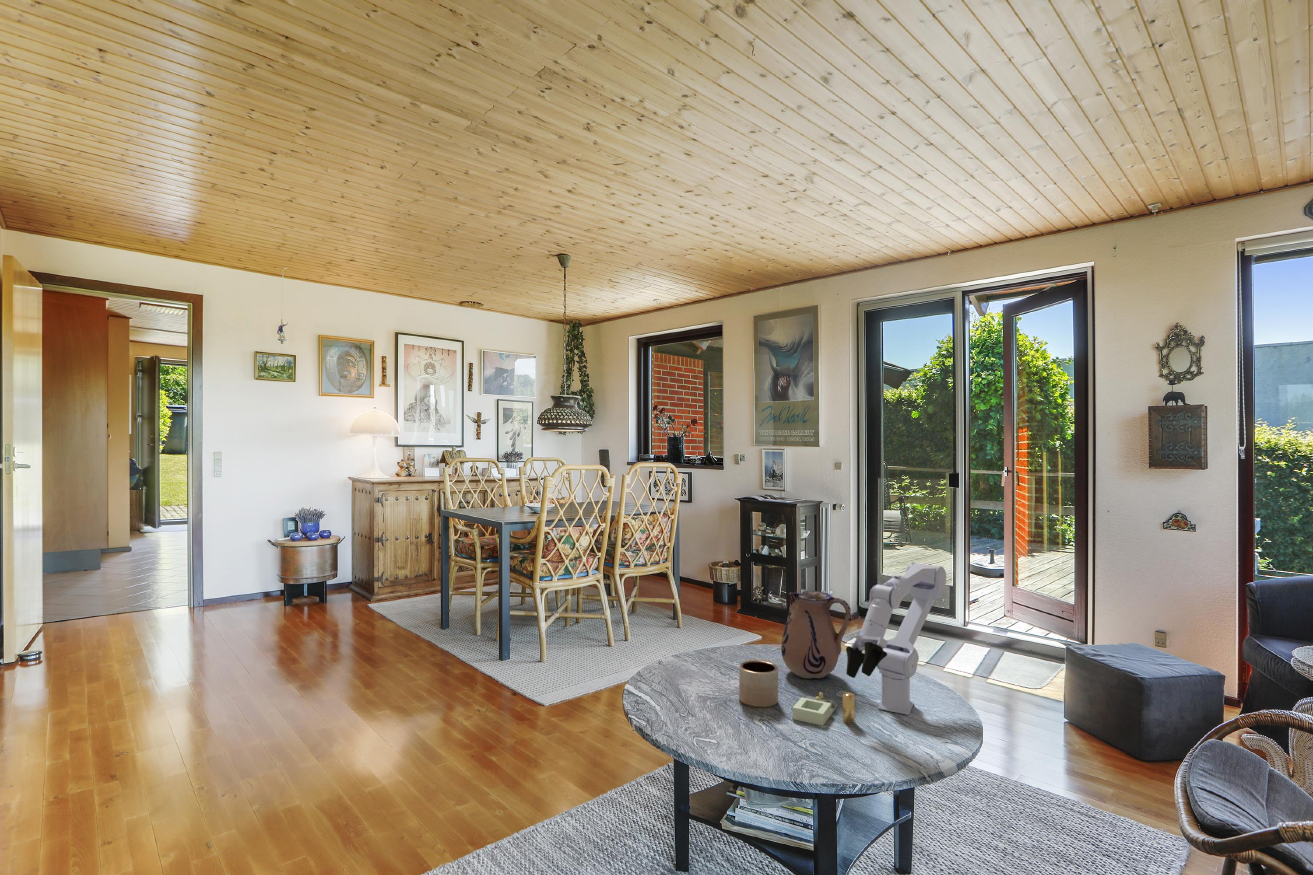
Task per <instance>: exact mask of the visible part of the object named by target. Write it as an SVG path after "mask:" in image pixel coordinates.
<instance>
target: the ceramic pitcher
mask: <svg viewBox="0 0 1313 875" xmlns="http://www.w3.org/2000/svg"><path fill="white" fill-rule="evenodd" d="M788 594H789V599H790V604H789V605H790V606H789V610H788V616H787V619H786V622H785V626H784V629H783V634H782V638H781V645H780V647H781V648H780V649H781V656H782V660H783V662H784V664H785V666H786V667H787V668H788V669H789V671H790V672H791V673H793V675H796V676H798V677H800V678H802V679H807V680H808V679H823V678H825V677H827V676H829V674H831V673H832V672H833V671H834V670H835V668H836V666H837V663H838V661H839V657H840V655H841V653H842V640H843V638H844V635H845V633H846V632H847V629H848V627H849V624H850V620H851V613H852V612H851V611H852V609H851V607H850V605H849V603H848V602H847V601H846V600H844V599H842V598H838V597H834V596H832V595H831V594H830V593H827V592H822V591H817V590H806V591H805V590H804V591H802V593H798V592H794V591H793V592H792V591H791V592H789V593H788ZM834 604H840V605H842V607H843V608H844V611H845V614H844V615H845V617H844V620H843V623H842V626H841V628H840V629H839V631H838V632H837V631H836V628H835V626H834V623H833V620H832V617H831V614H830V612H829V611H830V609H831V607H832V606H833V605H834Z"/></svg>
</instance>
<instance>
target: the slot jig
mask: <svg viewBox="0 0 1313 875" xmlns="http://www.w3.org/2000/svg"><path fill="white" fill-rule="evenodd" d="M837 706H838V704H837V702H836V701H835V700H834V699H833V700H832V699H825V698H824V693H823V692H821V691H820V692H819V693H818V696H811V695H807V696H806V697H800V698H799V700H798V701H797V702H796V703H795V704H794V705H793V707H792V720H795V721H800V722H804V723H805V722H806V723H810V724H813V725H818V726H822V727H823V726H824V725H825V724H826V722H827V721H829V718H830V717H831V716H832V714H833V713H834V711H835V710H836V709H837Z"/></svg>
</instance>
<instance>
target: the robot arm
mask: <svg viewBox="0 0 1313 875" xmlns="http://www.w3.org/2000/svg"><path fill="white" fill-rule="evenodd" d="M946 572H947V571H946V569H945V568H944V566H942V565H939V566H937V565H930V564H924V563H917V562H913V561H912V562H909V564H907V567H906V571H905V572H904V574H902V575H901V574H894V575H893V577H892V578H890V579H889V580H887V581H885V582H884V583H882V584H875V585H873V586H872V588H870V590H869V601H868V603H867V607H868V610H867V612H866V614H865V615H866V616H865V618H864V621H863V623H862V626H861V630H860V631H859V633H855V634H854V636H853V637H854V638H855V640H854V641H853V642H852V643H851V645H850V646H846V648H845V652H846V656H847V663H846V675H847V676H849V677H851V678H852V679H854V678H856V676H857V674H858V672H859V670H860V668H861V673H862V674H864V675H865V676H867V677H870V676H871V675H872V674H873V672H874V671H875V669H877V670H878V672H879V674H881V701H880V702H879V704H878V705H877V709H879V710H882V711H887V712H890V713H891V712H892V713H897V714H903V715H907V716H908V715H910V713H911V711H912V709H913V706H914V703H915V702H914V701H912V700H910V699H911V698H910V697H911V686H910V685H911V679H910V678H912V677H913V676H914V675H915V674H916V672H917V668H918V662H919V660H920V658H919V653H918V650H917V649H916V647H915V646H914V645H915V644H916V641H917V639H918V636H919V635H920V633H921V630H922V628H923V626H924V623H925V621H926V620H927V617H928V616H929V613H930V611H931V610H932V607H933V605H934V602H935V600H937V599H939V598H941V595H942V593H943V591H944V589H945V587H946V583H947V573H946ZM909 594H910V595H911V596H912V597H914V598H913V600H912V602H911V603H910V605H909V608H908V609H907V612H906V614H905V616H904V618H903V620H902V622H901V624H900V626H899V628H898V631H897V633H896V635H895V636H894V637H893V638H889V639H885V638H884V637H885V634H886V631H887V628H888V625H889V623H890V619H891V617H892V614H893V610H898V609H899V607H900V606H901V602H902V601H903V598H904V597H906V596H907V595H909ZM863 651H864V652H863Z"/></svg>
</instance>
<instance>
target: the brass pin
mask: <svg viewBox="0 0 1313 875" xmlns="http://www.w3.org/2000/svg"><path fill="white" fill-rule="evenodd" d="M855 696H856V694H855V693H853V692H848V691H847V692H844V691H843V693H842V722H843V723H844V724H847V725H855V721H856V720H855V716H856V714H855V713H856V711H855V710H856V706H855V705H856V704H855V703H856V697H855Z"/></svg>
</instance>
